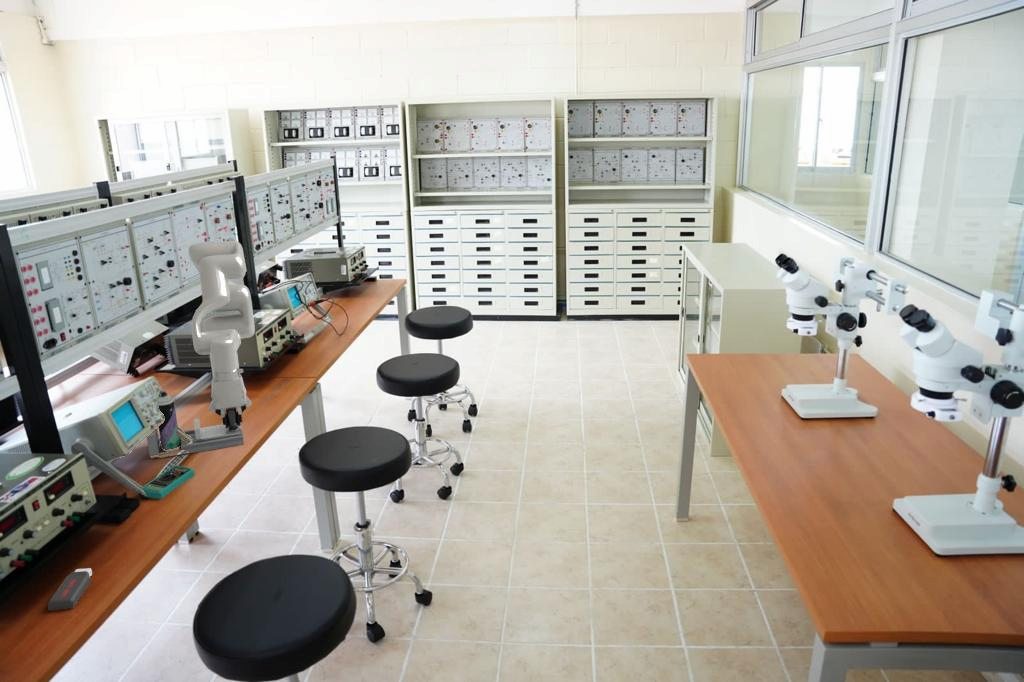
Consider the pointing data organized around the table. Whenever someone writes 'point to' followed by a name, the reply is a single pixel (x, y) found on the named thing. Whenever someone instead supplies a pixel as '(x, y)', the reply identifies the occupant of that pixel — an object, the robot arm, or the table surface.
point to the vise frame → (192, 448)
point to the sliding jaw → (219, 428)
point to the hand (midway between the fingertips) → (232, 424)
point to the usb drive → (70, 590)
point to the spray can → (168, 422)
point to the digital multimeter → (168, 481)
